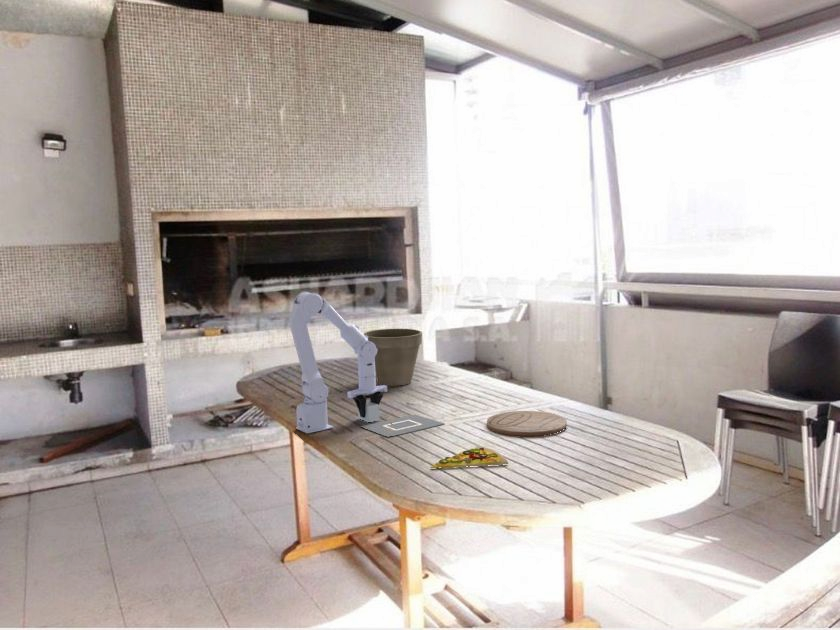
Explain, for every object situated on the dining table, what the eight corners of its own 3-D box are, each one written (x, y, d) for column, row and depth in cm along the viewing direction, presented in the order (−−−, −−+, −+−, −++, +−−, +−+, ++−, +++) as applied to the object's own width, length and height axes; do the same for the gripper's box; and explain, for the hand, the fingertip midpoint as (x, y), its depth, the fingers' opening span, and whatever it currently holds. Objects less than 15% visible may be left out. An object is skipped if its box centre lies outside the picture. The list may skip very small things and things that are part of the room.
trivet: (577, 421, 217) (577, 415, 216) (551, 442, 195) (551, 435, 195) (505, 413, 229) (505, 408, 229) (473, 432, 208) (473, 426, 208)
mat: (388, 437, 204) (388, 436, 204) (360, 427, 216) (360, 426, 216) (444, 424, 217) (444, 423, 217) (415, 415, 229) (415, 414, 229)
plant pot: (421, 388, 270) (419, 335, 268) (360, 390, 272) (358, 337, 269) (425, 376, 295) (423, 327, 293) (369, 377, 297) (367, 329, 294)
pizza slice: (513, 466, 176) (513, 455, 176) (443, 481, 167) (443, 469, 167) (483, 451, 190) (483, 440, 190) (417, 463, 181) (416, 452, 181)
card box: (369, 423, 221) (368, 406, 221) (358, 419, 227) (357, 402, 226) (379, 420, 224) (378, 404, 223) (368, 416, 229) (367, 400, 229)
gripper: (354, 380, 216) (356, 422, 218) (391, 374, 225) (393, 414, 226) (343, 377, 222) (345, 417, 223) (380, 371, 230) (381, 410, 232)
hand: (368, 415), depth 225 cm, fingers closed on card box, 4 cm apart
